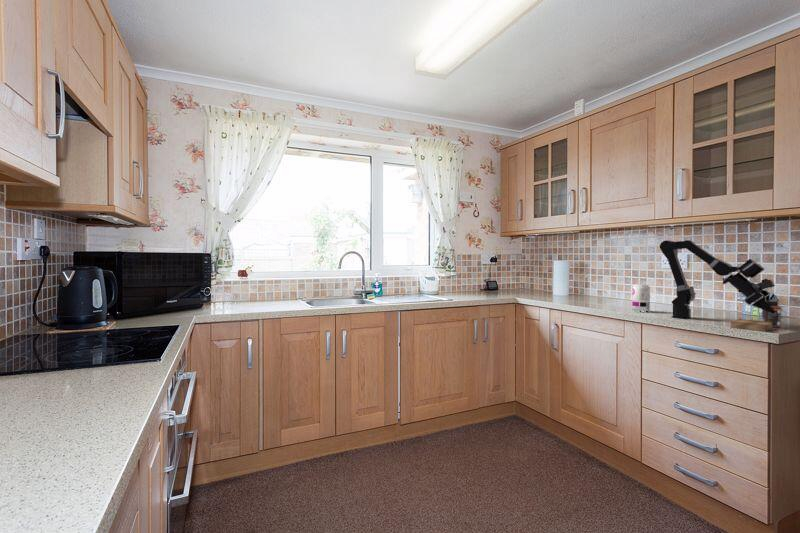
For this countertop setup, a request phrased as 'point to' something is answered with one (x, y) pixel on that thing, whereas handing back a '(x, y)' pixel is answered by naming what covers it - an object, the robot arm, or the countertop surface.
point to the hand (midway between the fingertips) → (775, 312)
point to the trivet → (751, 325)
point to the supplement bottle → (772, 314)
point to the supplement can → (641, 297)
